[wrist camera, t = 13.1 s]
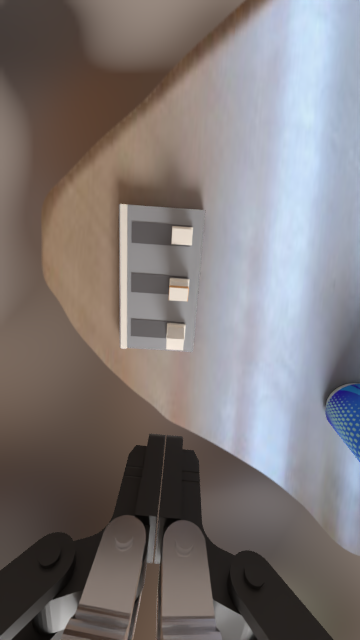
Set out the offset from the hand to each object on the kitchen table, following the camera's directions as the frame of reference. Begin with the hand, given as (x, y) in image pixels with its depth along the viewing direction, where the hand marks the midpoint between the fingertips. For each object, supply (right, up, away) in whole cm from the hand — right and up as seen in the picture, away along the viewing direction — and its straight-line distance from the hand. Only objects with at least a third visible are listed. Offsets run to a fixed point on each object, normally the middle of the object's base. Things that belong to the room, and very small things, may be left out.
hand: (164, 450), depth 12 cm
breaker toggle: (+1, +10, +21) cm, 23 cm away
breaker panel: (-2, +11, +24) cm, 26 cm away
